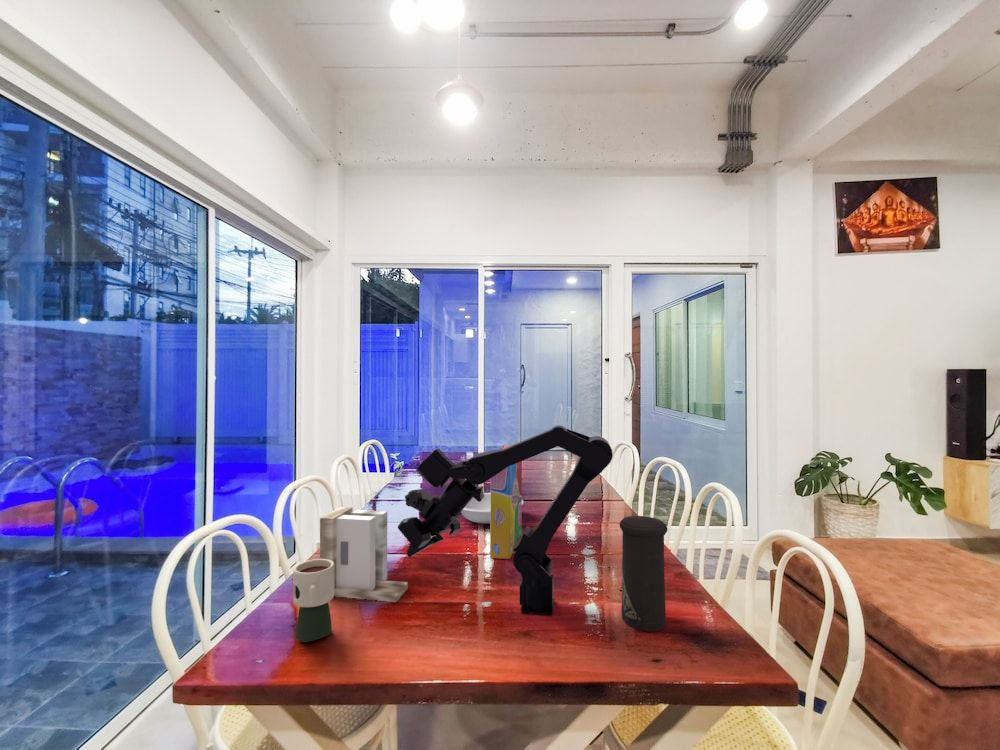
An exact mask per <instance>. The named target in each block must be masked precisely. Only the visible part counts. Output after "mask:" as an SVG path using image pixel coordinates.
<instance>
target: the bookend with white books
mask: <svg viewBox="0 0 1000 750" xmlns="http://www.w3.org/2000/svg"><path fill="white" fill-rule="evenodd" d="M342 515H356V516H375V588H374V589H373V590H360V589H348V588H336V518H338V517H340V516H342ZM319 559H329V560H331V561H333V562H334V596H336V597H335V598H341V597H347V598H346V599H352V598H356V599H355V600H364V599H367V600H366V601H375V600H377V602H378V601H379V602H388V603H389V602H390V603H397V602H398V601H399V600H400V599H401V597H402V596H403V595H404V594H405V593H406V591H408V586H409V585H408V584H409V583H408V581H396V580H388V511H387V510H373V509H372V510H370V509H354V510H353V507H347V506H340V507H338V508H336V509H335V510H332V511H331V512H328V513H327V514H325V515H324V516H323V515H322V516H321V517H320V518H319Z"/></svg>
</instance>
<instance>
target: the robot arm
mask: <svg viewBox="0 0 1000 750" xmlns="http://www.w3.org/2000/svg"><path fill="white" fill-rule="evenodd" d="M558 447H559V448H561V449H564V450H565V451H567V452H568V453H571V454H573V455H574V456H576V457H578V458H577V461H576V462H575V466H574V468H573V470H572V472H571V474H570V475H569V477H568V478H567V479H566V481H565V482H564V484H563V485H562V487H561V488H560V490H559V492H558V493H557V495H556V496H555V498H554V499H553V500H552V502H551V503H550V505H549V507H548V508H547V510H546V512H545V513H544V515H543V516H542V517H541V519H540V521H539V522H538V523H537V524H535V526H534V527H532V528H531V527H530V526H529V525H526V526H525V528H524V531H523V532H522V535H521V537H519V538H518V539H517V541H516V544H515V546H514V549H513V555H512V563H513V566H514V568H515V570H516V571H517V572H518V573H520V576H521V578H522V579H521V580H520V582H519V605H520V606H521V608H520V612H521V613H523V614H524V613H527V614H535V615H537V614H538V615H550V616H552V615H553V613H554V609H555V608H554V607H555V598H554V574H552V571H553V564H554V560H553V559H552V558H551V557H550V556H549V555H548V554H547V551H548V548H549V546H550V544H551V540H552V538H553V537H554V536H555V533H557V531H558V529H559V528H560V527H561V525H562V524H563V522H564V521H565V519H566V518H567V516H568V514H569V513H570V511H571V510H572V508H573V507H574V505H575V504H576V502H577V501H578V499H580V497H581V495H582V493H583V492H584V491H585V489H586V487H587V486H588V485H589V483H590V482H592V481H594V479H595V478H597V477H598V476H599V475H600V474H601V473H602V472H603V471H604V470H605V469H606V468H607V467H608V466H609V465H610V463H612V460H613V456H614V455H613V454H614V453H613V449H612V447H611V445H610V442H609V441H608V440H607V439H606V438H605V437H602V436H600V435H599V436H597V435H594V436H588V435H586V434H583V433H580V432H577V431H575V430H571V429H569V428H566V427H565V426H563V425H560V424H558V425H555V426H553V427H552V428H549V429H548V430H545V431H543V432H541V433H538V434H536V435H533V436H530V437H528V438H526V439H523V440H521V441H519V442H517V443H514V444H511V445H509V447H507V448H504V447H503V448H504V449H502V448H499V449H495V450H494V449H493V450H488V451H485V452H479V453H477V454H475V455H473V456H472V457H470V458H469V459H468V460H465V461H459V462H457V463H456V464H455V462H453V461H452V460H451V459H450V458H449V457H448V456H447V455H445V454H444V452H443V451H442V450H441V449H440V448H436V449H434V450H433V452H431V453H430V455H428V456H427V457H426V458H425V459H424V460H422V461H421V463H420V464H419V465H418V467H416V470H415V471H416V473H417V474H418V475H420V476H421V477H422V478H423V479H424V480H425V481H426V482H427V483H429V485H430V486H432V487H433V488H434V489H436V488H437V489H438V488H439V487H440V488H441V489H443V488H445V489H444V490H443V492H441V494H440V495H439V496H435V495H433V494H430V493H429V492H426V491H425V490H422V489H413V490H410V491H408V493H407V494H406V495H405V496H404V500H405V505H406V507H411V508H413V509H414V510H417V511H419V514H418V515H419V517H421V518H422V519H423V520H420V519H419V518H418V516H411V517H407V518H403V519H402V520H401V521H400V523H399V524H398V525H397V529H398V530H399V532H400V533H401V534H402V535H403V536H404V538H405V539H406V540H407V541H408V542H409V544H408V545H409V546H408V548H407V551H406V556H408V557H409V558H411V557H413V556H414V555H416V554H418V553H420V552H422V551H424V550H425V549H428V548H430V547H432V546H433V545H436V544H437V543H440V542H442V541H443V540H444V537H443V536H442V535H441V534H444V533H447V532H448V531H449V532H448V534H449V536H451V537H452V536H455V535H456V534H457V533H458V532H459V531H460V529H461V522H460V521H459V520H458V518H460V517H461V516H463V515H462V513H461V511H462V510H463V509H464V508H465V506H466V505H467V504H468V503H469V501H470V500H471V499H472V498H473V497H474V498H475V499H476V500H477V501H478V502H480V501H481V500H482V499H483V498H484V493H485V492H484V486H482V485H483V484H484V483H486V482H487V481H489V480H491V478H492V477H494V476H495V475H496V474H498V473H499V472H501V471H502V470H504V469H505V468H507V467H508V466H511V465H513V464H516V463H518V462H521V461H522V462H523V461H525V460H528V459H530V458H532V457H536V456H538V455H540V454H542V453H544V452H548V451H550V450H552V449H555V448H558ZM450 480H451V482H450ZM448 482H450V483H449V484H448ZM447 484H448V485H447ZM446 485H447V486H446ZM478 485H481V486H478ZM445 486H446V487H445Z"/></svg>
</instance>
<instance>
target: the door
mask: <svg viewBox="0 0 1000 750" xmlns="http://www.w3.org/2000/svg"><path fill="white" fill-rule="evenodd" d="M336 588H348V589H360V590H373V589H374V588H375V516H356V515H342V516H340V517H338V518H336Z"/></svg>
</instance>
